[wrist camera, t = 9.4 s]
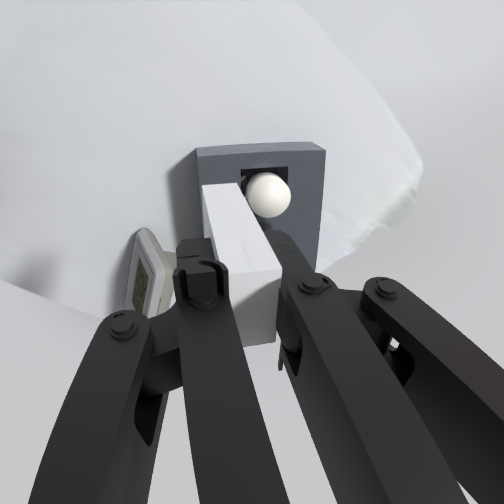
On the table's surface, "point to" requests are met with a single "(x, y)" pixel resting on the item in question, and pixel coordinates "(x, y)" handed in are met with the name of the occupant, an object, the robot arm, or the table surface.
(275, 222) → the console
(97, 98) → the table surface
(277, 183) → the knob inner
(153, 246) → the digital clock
